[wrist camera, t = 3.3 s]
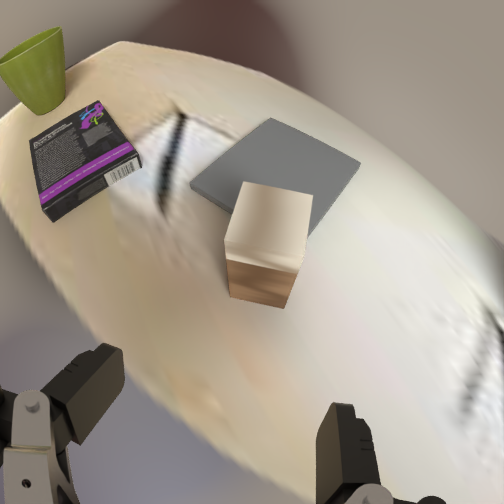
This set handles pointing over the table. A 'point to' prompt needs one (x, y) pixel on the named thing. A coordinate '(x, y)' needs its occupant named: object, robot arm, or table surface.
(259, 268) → the block
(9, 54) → the flower pot
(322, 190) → the mat
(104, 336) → the table surface
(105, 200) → the table surface
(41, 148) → the box
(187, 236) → the table surface
